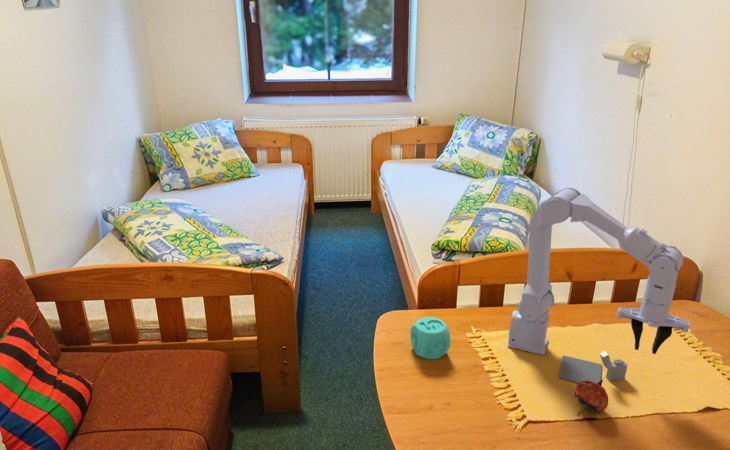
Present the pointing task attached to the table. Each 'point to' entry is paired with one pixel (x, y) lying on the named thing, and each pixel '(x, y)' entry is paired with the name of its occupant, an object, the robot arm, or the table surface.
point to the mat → (579, 370)
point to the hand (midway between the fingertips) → (645, 349)
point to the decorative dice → (430, 338)
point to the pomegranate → (591, 396)
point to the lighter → (614, 368)
